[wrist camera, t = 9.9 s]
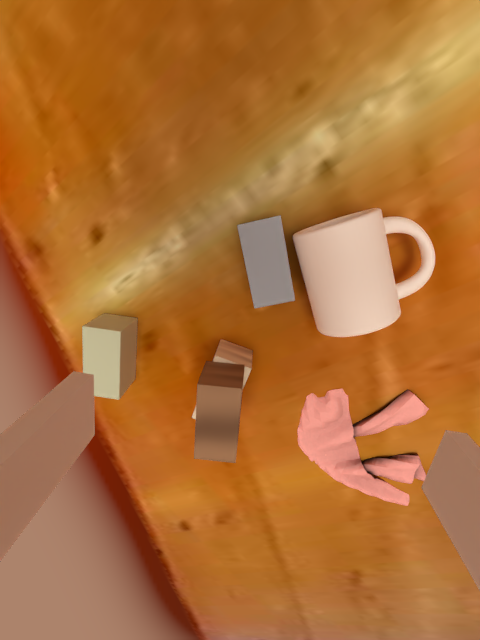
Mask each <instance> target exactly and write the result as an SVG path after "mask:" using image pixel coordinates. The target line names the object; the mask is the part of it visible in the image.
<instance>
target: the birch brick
mask: <svg viewBox="0 0 480 640" xmlns="http://www.w3.org/2000/svg"><path fill="white" fill-rule="evenodd" d="M252 353H253V350H250V349H247V348H245V347H242V346H239V345H236V344H234V343H231V342H228V341H226V340H223V339H221V340H220V342H219V345H218V348H217V350H216V353H215V356H214V358H213V361H212V362H222V363H233V364H243V365H245V368H244V379H243V388H244V386H245V383H246V381H247V379H248V376H249V374H250V372H251V369H252ZM192 418H193V419H196V407H195V410H194V412H193V415H192Z"/></svg>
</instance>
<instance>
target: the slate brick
mask: <svg viewBox="0 0 480 640" xmlns="http://www.w3.org/2000/svg"><path fill="white" fill-rule="evenodd" d="M237 227H238V232H239V237H240V242H241V246H242V251H243V256H244V261H245V265H246V270H247V275H248V280H249V285H250V289H251V294H252V299H253V304H254V308H259V307H264V306H270V305H275V304H280V303H285V302H290V301H295V296H294V291H293V285H292V279H291V273H290V267H289V261H288V256H287V250H286V244H285V238H284V232H283V226H282V221H281V215H280V216H275V217H271V218H266V219H262V220H257V221H253V222H248V223H244V224H240V225H237Z"/></svg>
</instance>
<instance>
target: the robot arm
mask: <svg viewBox="0 0 480 640" xmlns="http://www.w3.org/2000/svg"><path fill="white" fill-rule="evenodd" d="M94 435H95V424H94V375H93V374H87V373H80V372H72V373H71V374H70V375H69V376H68V377H67V378H65V379H64V380H63V381H62V382H61V383H60V384H58V385H57V386H56V387H55V388H54V389H53V390H51V391H50V392H49V393H48V394H47V395H46V396H44V397H43V398H42V399H41V400H40V401H39V402H38V403H36V404H35V405H34V406H33V407H32V408H31V409H29V410H28V411H27V412H26V413H25V414H23V415H22V416H21V417H20V418H19V419H18V420H17V421H15V422H14V423H13V424H12V425H11V426H10V427H9V428H7V429H6V430H5V431H4V432H3V433H1V434H0V561H1V560H2V558H3V557H4V556H5V554H6V553H7V552H8V550H9V549H10V548H11V546H12V545H13V544H14V542H15V541H16V540H17V538H18V537H19V536H20V534H21V533H22V532H23V530H24V529H25V528H26V526H27V525H28V524H29V522H30V521H31V520H32V518H33V517H34V516H35V514H36V513H37V512H38V510H39V509H40V508H41V506H42V505H43V504H44V502H45V501H46V499H47V498H48V497H49V495H50V494H51V493H52V491H53V490H54V489H55V487H56V486H57V485H58V483H59V482H60V481H61V479H62V478H63V477H64V475H65V474H66V472H67V471H68V470H69V468H70V467H71V466H72V465H73V463H74V462H75V461H76V459H77V458H78V456H79V455H80V454H81V452H82V451H83V450H84V449H85V447H86V446H87V444H88V443H89V442H90V440H91V439H92V438H93V436H94ZM422 490H423V491H424V493H425V495H426V497H427V498H428V500H429V502H430V504H431V506H432V507H433V509H434V511H435V513H436V514H437V516H438V518H439V520H440V521H441V523H442V525H443V527H444V529H445V530H446V532H447V534H448V536H449V537H450V539H451V541H452V543H453V544H454V546H455V548H456V550H457V551H458V553H459V555H460V557H461V559H462V560H463V562H464V564H465V566H466V567H467V569H468V571H469V573H470V574H471V576H472V578H473V580H474V582H475V583H476V585H477V587H478V589H479V590H480V448H479V447H478V445H477V444H476V443H475V442H474V441H473V440H472V439H471V438H470V437H469V435H468V434H466V433H460V432H454V431H447V430H446V431H445V433H444V436H443V438H442V440H441V443H440V445H439V448H438V450H437V452H436V455H435V457H434V459H433V462H432V464H431V466H430V469H429V471H428V473H427V476H426V478H425V481H424V483H423V485H422Z"/></svg>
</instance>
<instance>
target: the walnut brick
mask: <svg viewBox="0 0 480 640" xmlns="http://www.w3.org/2000/svg"><path fill="white" fill-rule="evenodd" d="M244 368H245V365H243V364H233V363H222V362H212V361H206V363H205V366H204V368H203V371H202V373H201V376H200V379H199V381H198V384H197V404H196V427H195V450H194V459H203V460H212V461H222V462H231V463H236V453H237V443H238V433H239V423H240V412H241V401H242V390H243V379H244Z"/></svg>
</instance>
